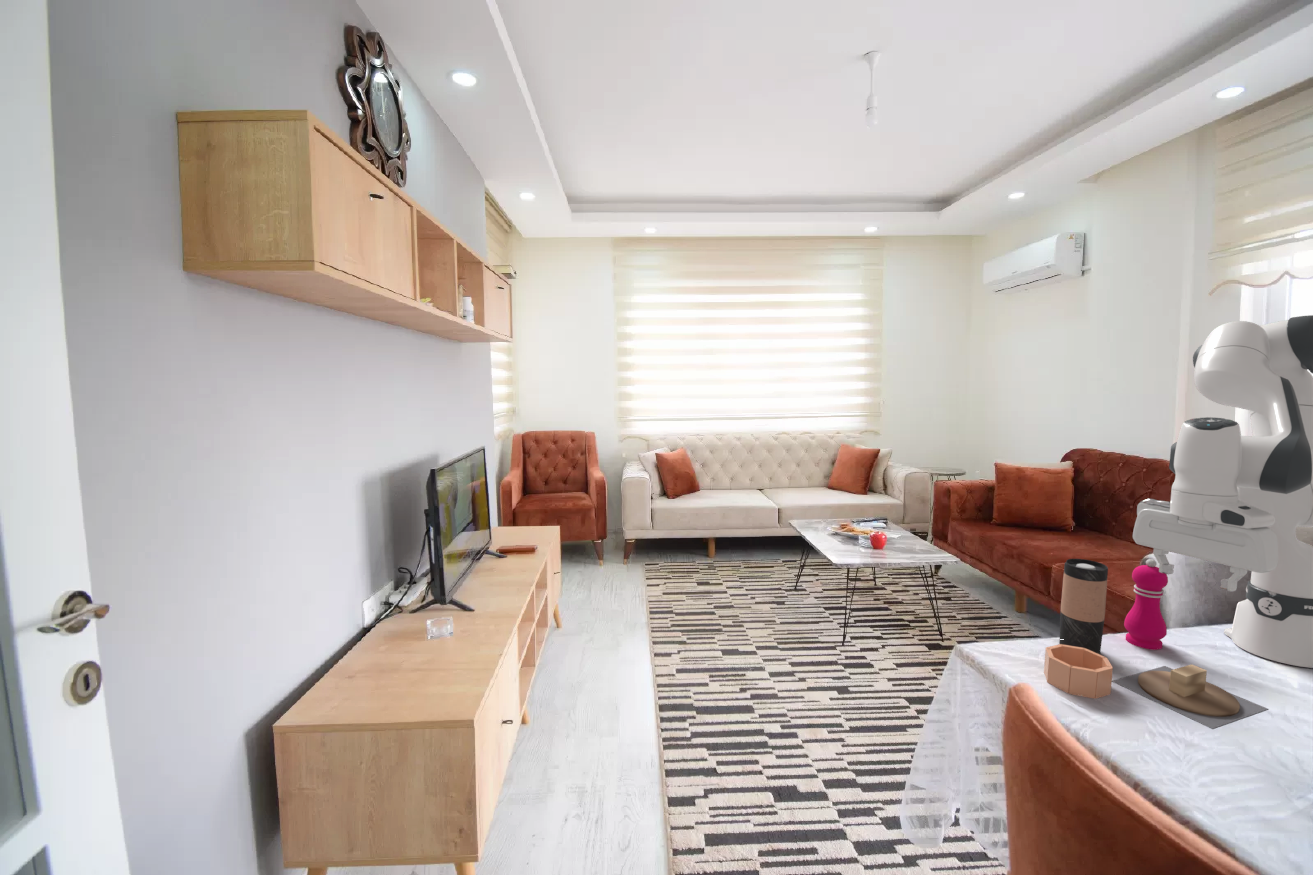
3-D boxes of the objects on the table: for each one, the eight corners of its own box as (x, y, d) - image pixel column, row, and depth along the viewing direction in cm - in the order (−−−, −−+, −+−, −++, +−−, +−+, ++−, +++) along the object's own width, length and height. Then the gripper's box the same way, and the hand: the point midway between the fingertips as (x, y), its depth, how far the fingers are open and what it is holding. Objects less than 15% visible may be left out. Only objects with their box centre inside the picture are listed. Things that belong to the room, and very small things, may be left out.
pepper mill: (1173, 655, 124) (1182, 565, 121) (1134, 652, 125) (1142, 564, 123) (1151, 639, 131) (1159, 554, 128) (1115, 637, 132) (1122, 553, 130)
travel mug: (1110, 661, 122) (1118, 570, 119) (1074, 661, 122) (1081, 570, 119) (1083, 643, 129) (1090, 558, 127) (1049, 644, 129) (1055, 558, 127)
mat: (1164, 669, 118) (1164, 665, 118) (1267, 713, 103) (1268, 708, 103) (1111, 684, 113) (1111, 680, 113) (1211, 733, 98) (1212, 728, 98)
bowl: (1068, 669, 119) (1070, 641, 118) (1120, 694, 109) (1123, 665, 109) (1032, 678, 115) (1034, 650, 115) (1084, 705, 106) (1086, 675, 105)
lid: (1167, 669, 117) (1169, 646, 116) (1257, 707, 103) (1260, 682, 103) (1120, 682, 112) (1122, 659, 111) (1208, 724, 99) (1211, 698, 98)
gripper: (1127, 497, 113) (1122, 566, 114) (1265, 521, 94) (1257, 603, 95) (1149, 495, 115) (1143, 562, 117) (1288, 518, 96) (1279, 598, 97)
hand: (1195, 581), depth 106 cm, fingers open, 8 cm apart
